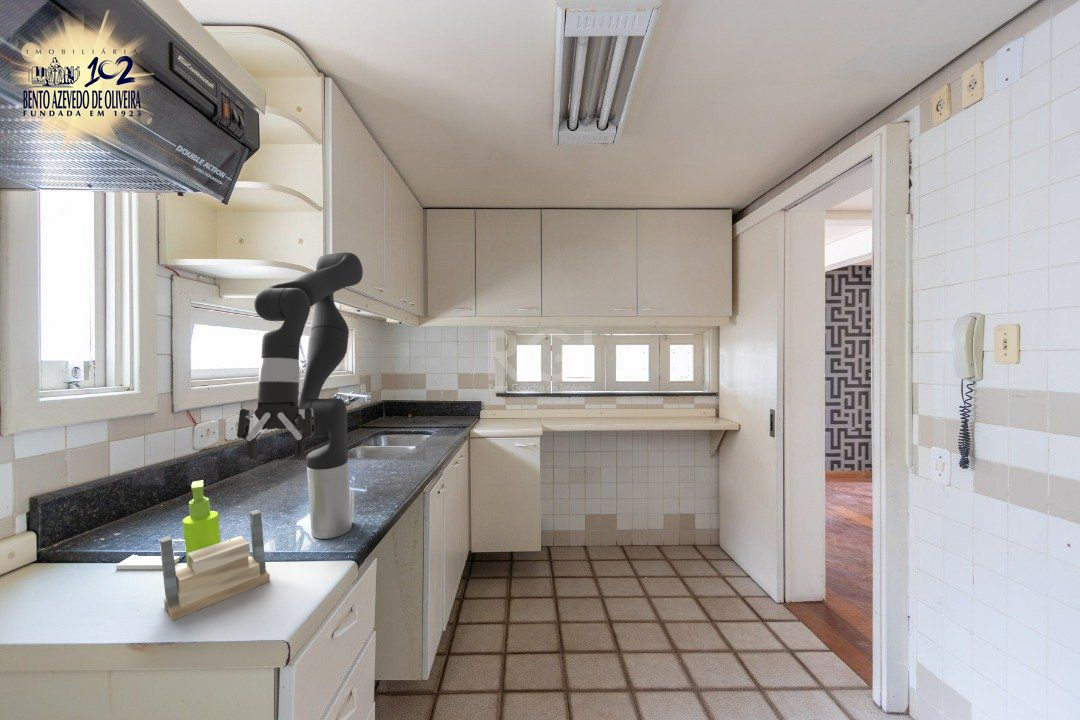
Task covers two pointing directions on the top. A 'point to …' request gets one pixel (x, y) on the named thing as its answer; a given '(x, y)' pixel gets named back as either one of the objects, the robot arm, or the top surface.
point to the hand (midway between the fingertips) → (275, 458)
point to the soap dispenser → (200, 522)
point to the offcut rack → (213, 571)
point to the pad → (144, 562)
